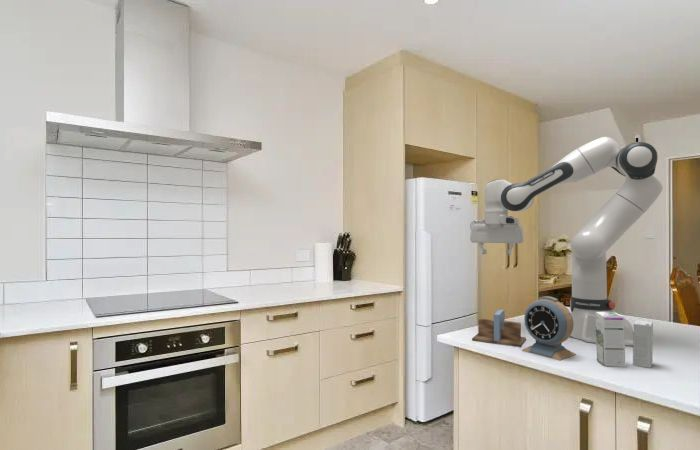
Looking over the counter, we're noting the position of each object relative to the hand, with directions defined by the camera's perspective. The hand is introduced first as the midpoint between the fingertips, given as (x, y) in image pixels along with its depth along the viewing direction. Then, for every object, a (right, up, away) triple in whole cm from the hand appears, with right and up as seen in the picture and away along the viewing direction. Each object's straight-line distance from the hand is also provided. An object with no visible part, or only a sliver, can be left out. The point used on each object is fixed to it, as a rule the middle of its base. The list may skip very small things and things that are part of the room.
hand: (496, 254), depth 165 cm
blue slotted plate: (-6, -28, -20) cm, 35 cm away
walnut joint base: (-6, -29, -20) cm, 36 cm away
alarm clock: (+4, -29, -35) cm, 46 cm away
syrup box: (+17, -29, -46) cm, 57 cm away
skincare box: (+26, -29, -47) cm, 60 cm away
